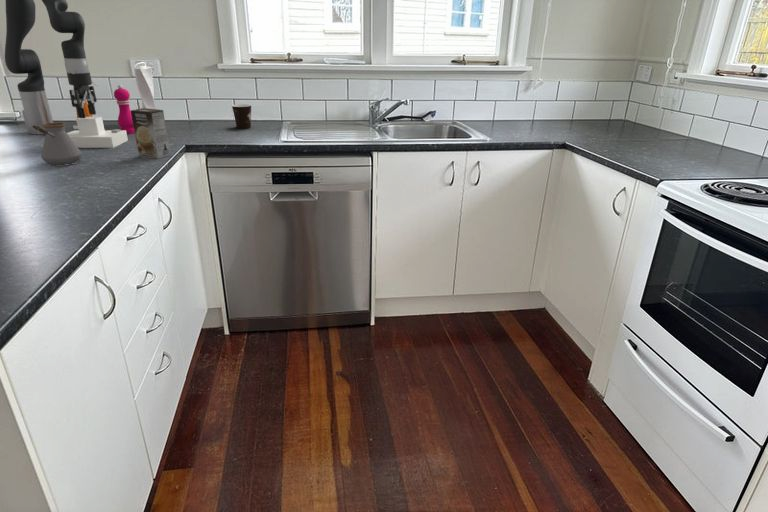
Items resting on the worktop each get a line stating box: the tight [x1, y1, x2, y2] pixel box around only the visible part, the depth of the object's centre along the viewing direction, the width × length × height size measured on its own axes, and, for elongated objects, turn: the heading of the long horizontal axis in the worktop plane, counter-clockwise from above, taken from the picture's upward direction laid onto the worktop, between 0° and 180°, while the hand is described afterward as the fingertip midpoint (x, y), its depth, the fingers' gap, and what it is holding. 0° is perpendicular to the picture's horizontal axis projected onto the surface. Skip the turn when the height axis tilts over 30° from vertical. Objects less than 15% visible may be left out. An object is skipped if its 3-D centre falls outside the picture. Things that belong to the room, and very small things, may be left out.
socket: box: [66, 128, 129, 149], centre depth 193 cm, size 20×14×5 cm
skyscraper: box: [133, 61, 158, 110], centre depth 228 cm, size 8×8×28 cm
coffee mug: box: [231, 103, 252, 130], centre depth 228 cm, size 12×9×10 cm
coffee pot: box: [30, 122, 82, 166], centre depth 158 cm, size 21×12×15 cm, turn 13°
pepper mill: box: [113, 84, 135, 135], centre depth 212 cm, size 7×7×20 cm
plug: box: [72, 116, 106, 135], centre depth 191 cm, size 10×6×8 cm, turn 94°
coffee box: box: [130, 107, 171, 160], centre depth 174 cm, size 9×6×16 cm
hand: (87, 116), depth 190 cm, fingers open, 8 cm apart
